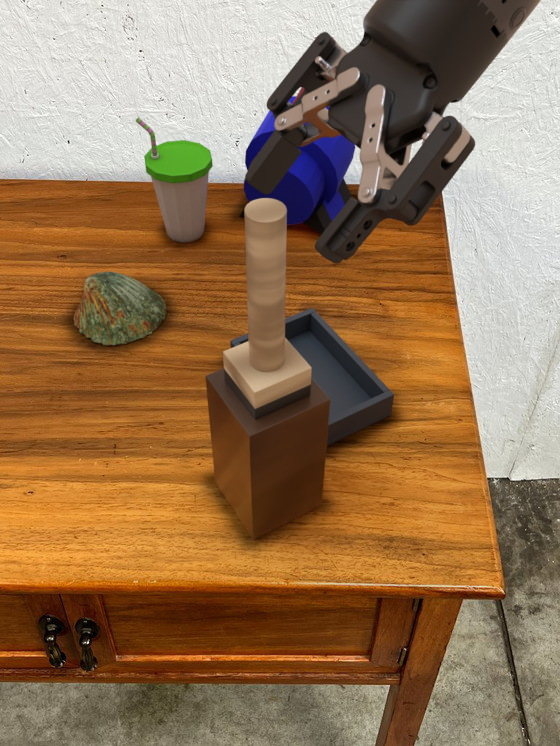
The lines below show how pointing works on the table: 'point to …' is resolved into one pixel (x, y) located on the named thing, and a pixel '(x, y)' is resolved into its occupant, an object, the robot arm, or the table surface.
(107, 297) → the seashell
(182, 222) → the cup
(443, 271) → the table surface
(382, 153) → the robot arm
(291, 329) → the tray
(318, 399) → the stand
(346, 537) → the table surface
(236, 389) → the wooden peg on base
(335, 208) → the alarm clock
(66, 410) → the table surface
